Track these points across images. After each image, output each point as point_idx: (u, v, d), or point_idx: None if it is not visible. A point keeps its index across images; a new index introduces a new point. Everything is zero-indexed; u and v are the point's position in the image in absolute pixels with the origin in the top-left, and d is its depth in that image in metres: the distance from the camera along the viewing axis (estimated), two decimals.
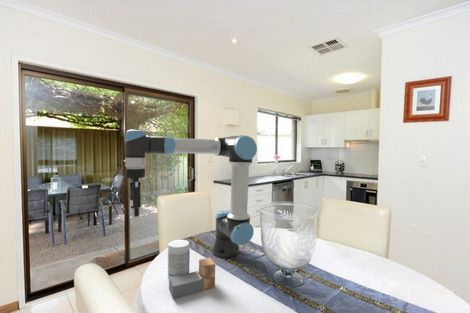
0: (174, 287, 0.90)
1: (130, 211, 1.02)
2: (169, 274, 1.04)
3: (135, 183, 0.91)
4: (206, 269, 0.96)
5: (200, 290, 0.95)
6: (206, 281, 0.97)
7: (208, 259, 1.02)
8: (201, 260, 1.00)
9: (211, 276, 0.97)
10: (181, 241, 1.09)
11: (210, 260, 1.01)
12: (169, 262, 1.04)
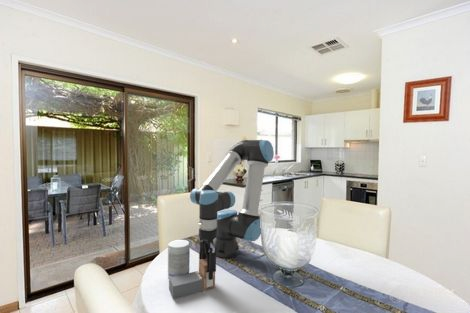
0: (174, 287, 0.90)
1: None
2: (169, 274, 1.04)
3: (212, 250, 0.93)
4: (206, 269, 0.96)
5: (200, 290, 0.95)
6: None
7: None
8: (201, 260, 1.00)
9: None
10: (181, 241, 1.09)
11: None
12: (169, 262, 1.04)
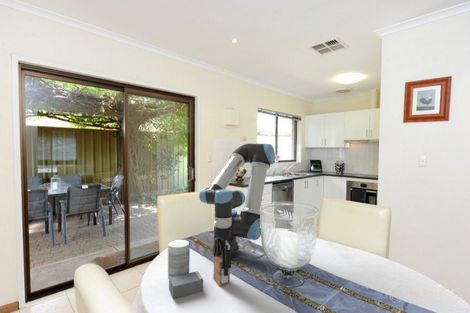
0: (174, 287, 0.90)
1: None
2: (169, 274, 1.04)
3: (228, 247, 0.96)
4: (221, 265, 0.99)
5: (200, 290, 0.95)
6: None
7: None
8: (216, 257, 1.04)
9: None
10: (181, 241, 1.09)
11: None
12: (169, 262, 1.04)
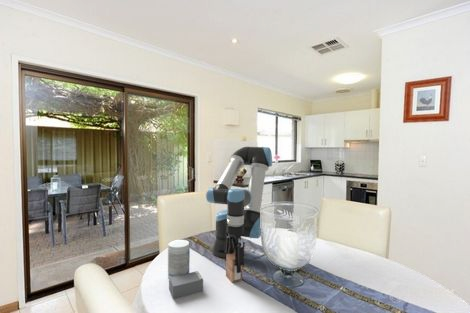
0: (174, 287, 0.90)
1: None
2: (169, 274, 1.04)
3: (241, 245, 0.99)
4: (234, 262, 1.02)
5: (200, 290, 0.95)
6: None
7: None
8: (229, 255, 1.06)
9: None
10: (181, 241, 1.09)
11: None
12: (169, 262, 1.04)
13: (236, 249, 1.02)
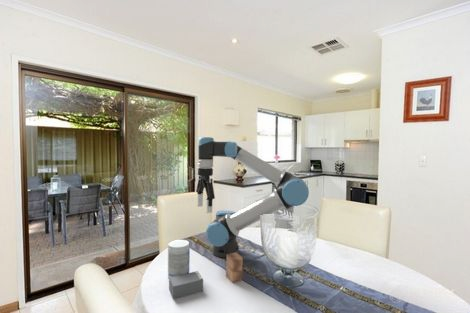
0: (174, 287, 0.90)
1: (198, 203, 1.26)
2: (169, 274, 1.04)
3: (209, 180, 1.14)
4: (234, 262, 1.02)
5: (200, 290, 0.95)
6: (235, 274, 1.03)
7: (235, 254, 1.08)
8: (229, 254, 1.06)
9: (238, 270, 1.03)
10: (181, 241, 1.09)
11: (237, 254, 1.07)
12: (169, 262, 1.04)
13: (206, 187, 1.16)
